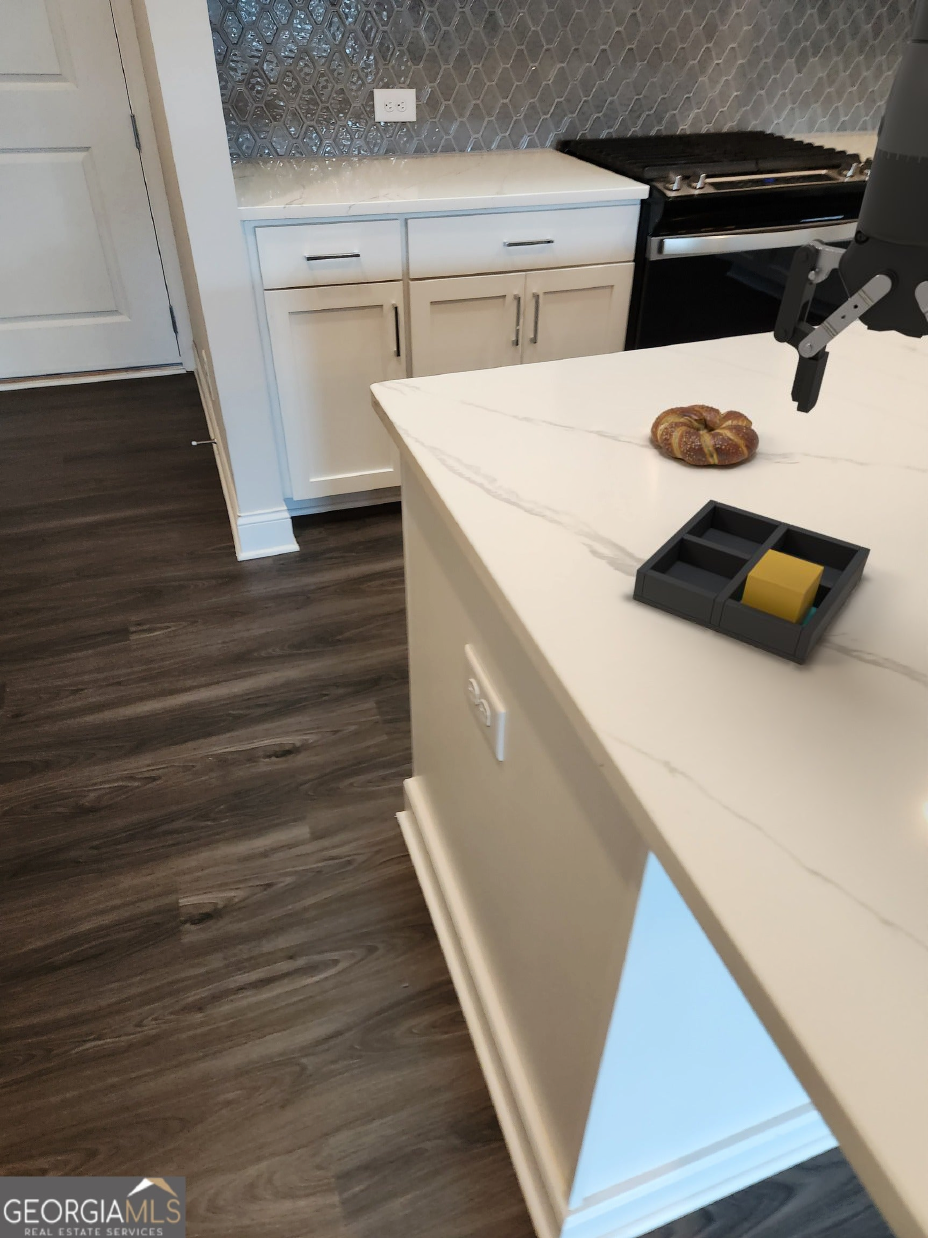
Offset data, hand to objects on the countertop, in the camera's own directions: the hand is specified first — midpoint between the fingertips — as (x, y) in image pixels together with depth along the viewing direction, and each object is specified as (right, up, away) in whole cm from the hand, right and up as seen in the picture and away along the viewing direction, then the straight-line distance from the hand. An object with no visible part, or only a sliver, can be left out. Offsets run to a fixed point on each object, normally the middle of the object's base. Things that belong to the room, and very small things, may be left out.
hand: (870, 422), depth 55 cm
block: (-1, -13, +14) cm, 19 cm away
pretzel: (0, +6, +40) cm, 40 cm away
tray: (-2, -10, +18) cm, 21 cm away
